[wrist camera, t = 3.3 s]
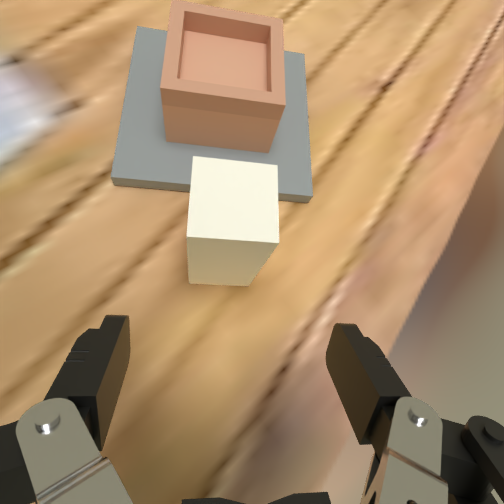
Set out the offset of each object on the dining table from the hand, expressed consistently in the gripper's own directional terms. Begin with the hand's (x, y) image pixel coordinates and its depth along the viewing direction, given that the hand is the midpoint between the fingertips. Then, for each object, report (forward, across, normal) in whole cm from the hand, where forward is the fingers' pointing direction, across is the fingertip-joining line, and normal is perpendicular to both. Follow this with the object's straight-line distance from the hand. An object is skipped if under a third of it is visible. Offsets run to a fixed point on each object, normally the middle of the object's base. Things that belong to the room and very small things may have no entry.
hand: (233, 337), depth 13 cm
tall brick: (+13, 0, +3) cm, 13 cm away
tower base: (+22, +1, -7) cm, 23 cm away
